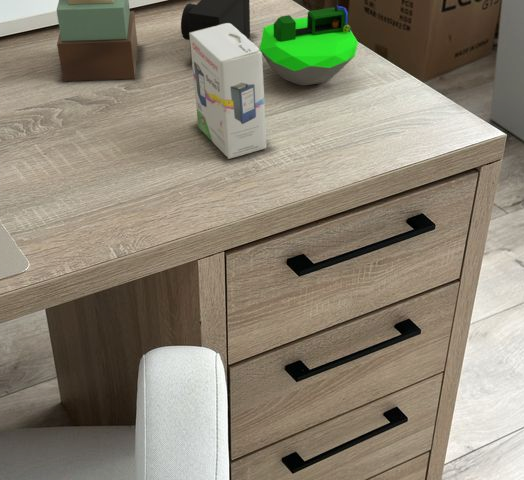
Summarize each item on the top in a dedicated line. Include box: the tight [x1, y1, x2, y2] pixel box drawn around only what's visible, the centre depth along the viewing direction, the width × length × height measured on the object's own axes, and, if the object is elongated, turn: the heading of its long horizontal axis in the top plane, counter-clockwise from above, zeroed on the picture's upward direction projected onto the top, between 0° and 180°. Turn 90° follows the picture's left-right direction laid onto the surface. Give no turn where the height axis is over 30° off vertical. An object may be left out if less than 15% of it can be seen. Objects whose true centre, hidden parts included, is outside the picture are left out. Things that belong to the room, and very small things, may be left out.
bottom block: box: [56, 10, 139, 82], centre depth 121 cm, size 9×9×5 cm
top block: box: [56, 0, 131, 41], centre depth 118 cm, size 8×8×4 cm
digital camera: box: [180, 0, 251, 65], centre depth 123 cm, size 10×5×7 cm, turn 160°
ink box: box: [189, 23, 267, 160], centre depth 105 cm, size 9×5×12 cm, turn 27°
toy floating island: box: [259, 0, 359, 86], centre depth 116 cm, size 12×12×11 cm
